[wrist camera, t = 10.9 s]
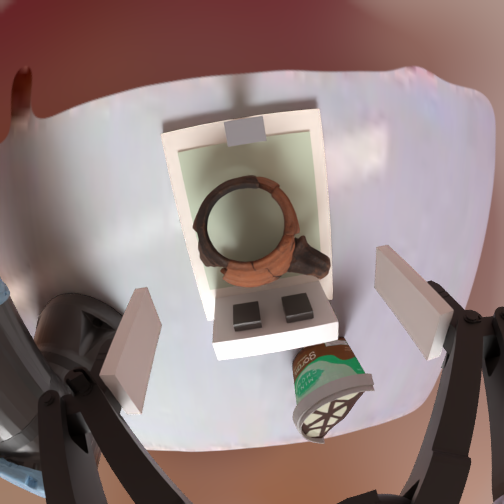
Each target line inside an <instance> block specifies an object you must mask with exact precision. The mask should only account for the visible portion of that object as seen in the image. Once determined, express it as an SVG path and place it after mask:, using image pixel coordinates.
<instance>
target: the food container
mask: <svg viewBox="0 0 504 504" xmlns="http://www.w3.org/2000/svg"><path fill="white" fill-rule="evenodd" d="M293 377H294V385H295V394H296V403H297V406H296V408H295V409H294V412H293V421H294V423H295V426H296V428H297V430H298V431H299V433H300V434H301V435H302V436H303V437H304V438H305V439H306V440H308V441H311V442H314V443H324V436H325V435H326V434H327V432H328V431H329V430H330V429H331V428H332V427H333V426H335V425H336V424H337V423H339V422H340V421H341V420H343V419H344V418H345V417H346V415H347V414H348V413H349V411H350V410H351V409H352V407H353V406H354V404H355V403H356V401H357V400H358V399H359V398H360V397H361V395H362V394H363V393H364V392H365V391H374V388H373V385H374V383H373V379H372V375H371V374H365V372H364V370H363V368H362V367H361V365H360V363H359V362H358V360H357V358H356V357H355V355H354V353H353V352H352V350H351V348H350V347H349V345H348V343H347V341H346V340H345V338H344V337H338V340H334V341H330V342H325V343H320V344H316V345H311V346H306V347H305V348H303V349H302V350H301V351H300V352H299V353H298V354H297V356H296V357H295V359H294V361H293Z"/></svg>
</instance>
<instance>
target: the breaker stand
mask: <svg viewBox="0 0 504 504" xmlns="http://www.w3.org/2000/svg"><path fill="white" fill-rule="evenodd" d="M258 116H263V120H264V127H265V133H266V140H267V141H262V142H255V143H249V144H243V145H237V146H231V147H228V144H227V138H226V133H225V127H224V122H226V121H232V120H238V119H245V118H251V117H258ZM161 139H162V144H163V148H164V153H165V158H166V163H167V167H168V172H169V176H170V181H171V185H172V189H173V194H174V198H175V202H176V206H177V210H178V215H179V219H180V223H181V227H182V231H183V235H184V238H185V242H186V246H187V250H188V254H189V257H190V261H191V265H192V268H193V272H194V276H195V279H196V283H197V286H198V290H199V293H200V297H201V300H202V303H203V307H204V310H205V314H206V317H207V320H214V326H213V342H212V343H213V346H214V349H215V352H216V355H217V358H218V360H224V359H232V358H240V357H247V356H253V355H260V354H266V353H272V352H278V351H284V350H290V349H295V348H300V347H305V346H311V345H316V344H320V343H325V342H330V341H334V340H338V319H337V317H336V315H335V313H334V311H333V309H332V307H331V305H330V303H329V300H332V299H333V285H332V250H331V228H330V211H329V197H328V184H327V172H326V162H325V152H324V143H323V134H322V125H321V117H320V110H319V109H308V110H297V111H287V112H278V113H270V114H262V115H255V116H248V117H242V118H235V119H230V120H224V121H218V122H213V123H208V124H203V125H198V126H193V127H188V128H184V129H179V130H175V131H171V132H167V133H162V134H161ZM248 175H255V176H256V177H259V176H260V177H265V178H268V179H270V180H273V181H275V182H276V183H278V184H279V185H280V187H279V188H280V189H281V190H282V191H283V192H284V193H285V194H286V195H287V196H288V198H289V199H290V201H291V203H292V205H293V207H294V210H295V212H296V215H297V219H298V223H299V228H300V233H298V234H295V236H294V238H295V237H296V238H299V237H300V236H302V235H304V236H305V237H306V240H307V243H308V244H309V245H310V246H311V247H313V248H315V249H316V250H318V251H320V252H321V253H323V254H325V255H327V256H328V257H329V258H330V263H331V267H330V270H329V274H328V275H327V276H326V277H324V278H322V279H318V278H316V277H314V276H311V275H304V274H299V273H292V272H290V273H289V272H286V273H285V274H283V275H282V276H281V277H280V278H279V279H277V280H275V281H273V282H271V283H269V284H265V285H261V286H259V287H249V288H246V287H240V286H235V285H232V284H229V283H227V282H226V281H225V280H223V279H222V278H223V276H224V274H222V273H221V272H220V270H221V269H222V268H223V267H212V266H210V267H206V266H205V265H204V264H203V262H202V261H201V260H200V257H199V255H200V253H199V251H198V242H199V239H198V235H197V232H196V231H195V230H194V229H193V228H192V227H193V222H194V220H195V217H196V215H197V213H198V210H199V208H200V206H201V204H202V202H203V201H204V199H205V198H206V196H207V195H208V194H209V193H210V192H211V191H212V190H213V189H215V188H216V187H217V186H219V185H220V184H222V183H223V182H225V181H227V180H230V179H233V178H238V177H242V176H248ZM283 230H284V217H283V213H282V210H281V208H280V206H279V205H278V203H277V202H276V201H275V200H274V199H273V198H272V196H271V194H270V193H269V192H267V191H265V190H263V189H260V188H257V189H252V188H245V189H238V190H235V191H232V192H230V193H228V194H226V195H225V196H223V197H222V198H220V199H219V200H218V201H217V203H216V204H215V205H214V207H213V208H212V210H211V212H210V215H209V218H208V225H207V231H208V235H209V238H210V240H211V242H212V244H213V246H214V247H215V249H216V250H217V251H218V252H219V253H220V254H222V255H223V256H225V257H226V258H228V259H232V260H236V261H243V262H248V261H255V260H258V259H261V258H263V257H265V256H266V255H268V254H269V253H270V252H272V251H273V250H274V249H275V248H276V246H277V245H278V243H279V242H280V240H281V238H282V236H283ZM300 293H306V294H307V296H308V299H309V301H310V304H311V306H312V309H313V315H314V318H312V319H307V320H302V321H296V322H291V323H287V322H286V318H285V314H284V310H283V306H282V300H281V297H284V296H289V295H295V294H300ZM254 301H258V304H259V310H260V317H261V324H262V328H256V329H249V330H243V331H236V332H235V330H234V326H233V305H235V304H241V303H248V302H254Z"/></svg>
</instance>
